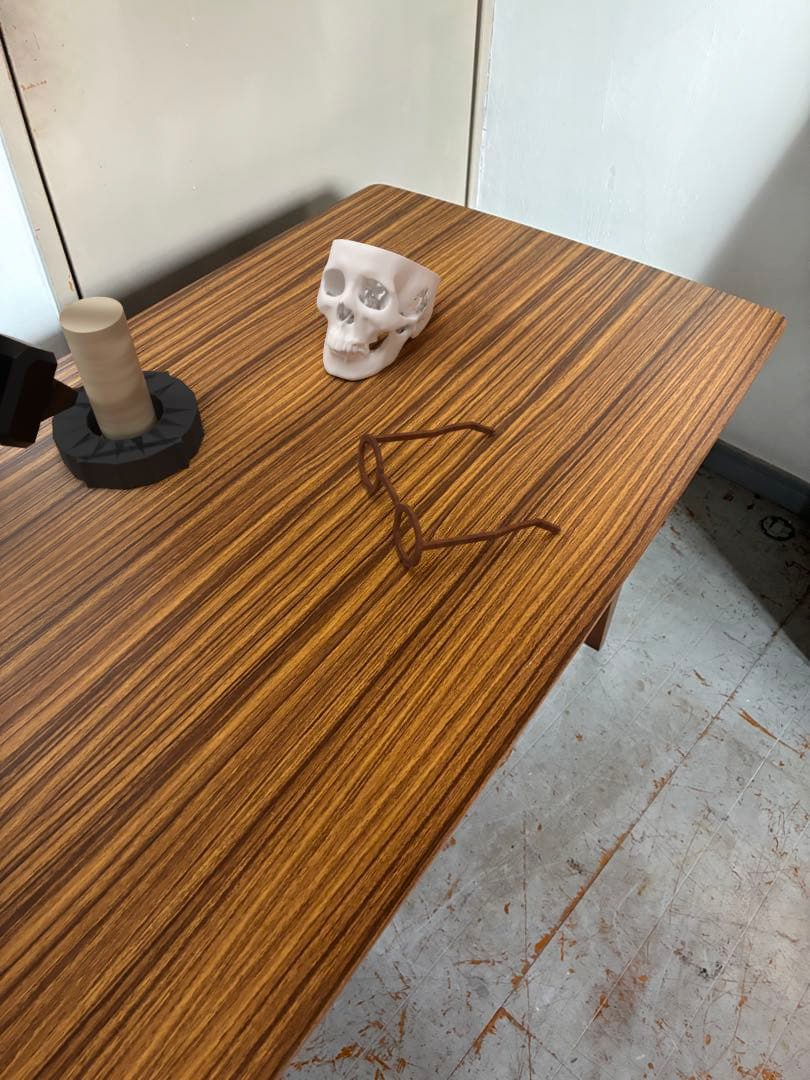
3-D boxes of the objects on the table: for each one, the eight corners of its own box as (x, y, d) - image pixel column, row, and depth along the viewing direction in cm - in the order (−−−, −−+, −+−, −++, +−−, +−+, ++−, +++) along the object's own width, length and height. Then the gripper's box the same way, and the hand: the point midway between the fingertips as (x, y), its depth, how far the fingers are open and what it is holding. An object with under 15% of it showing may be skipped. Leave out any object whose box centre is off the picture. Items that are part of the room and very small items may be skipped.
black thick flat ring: (212, 471, 70) (206, 445, 68) (65, 502, 68) (53, 476, 65) (193, 385, 77) (186, 359, 75) (61, 410, 75) (50, 384, 73)
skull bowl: (278, 362, 77) (304, 227, 73) (347, 359, 90) (372, 244, 86) (374, 394, 74) (407, 255, 70) (432, 387, 86) (463, 269, 82)
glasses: (355, 469, 70) (352, 425, 66) (493, 432, 73) (497, 388, 69) (410, 582, 62) (411, 540, 58) (563, 535, 65) (572, 492, 61)
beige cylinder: (156, 458, 71) (115, 332, 61) (101, 458, 71) (51, 332, 61) (166, 421, 74) (128, 295, 64) (113, 422, 74) (67, 296, 64)
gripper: (-34, 226, 41) (160, 306, 56) (-264, 148, 47) (-34, 239, 61) (-90, 437, 42) (113, 461, 57) (-307, 335, 48) (-72, 380, 63)
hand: (28, 378), depth 60 cm, fingers open, 9 cm apart
